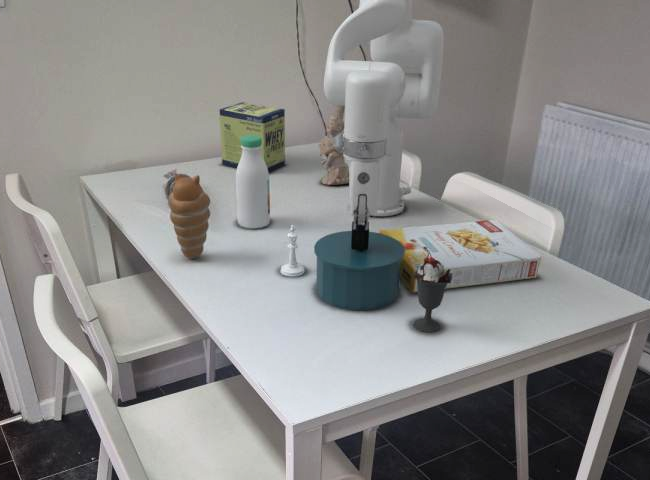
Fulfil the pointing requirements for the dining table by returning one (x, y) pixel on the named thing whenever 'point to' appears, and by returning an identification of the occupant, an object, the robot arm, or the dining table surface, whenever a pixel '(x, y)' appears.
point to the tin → (357, 286)
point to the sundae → (430, 291)
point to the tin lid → (359, 251)
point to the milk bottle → (252, 185)
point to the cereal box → (466, 253)
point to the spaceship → (171, 182)
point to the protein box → (253, 132)
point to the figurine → (334, 150)
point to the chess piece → (292, 257)
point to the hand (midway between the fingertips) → (359, 244)
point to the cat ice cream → (189, 214)
